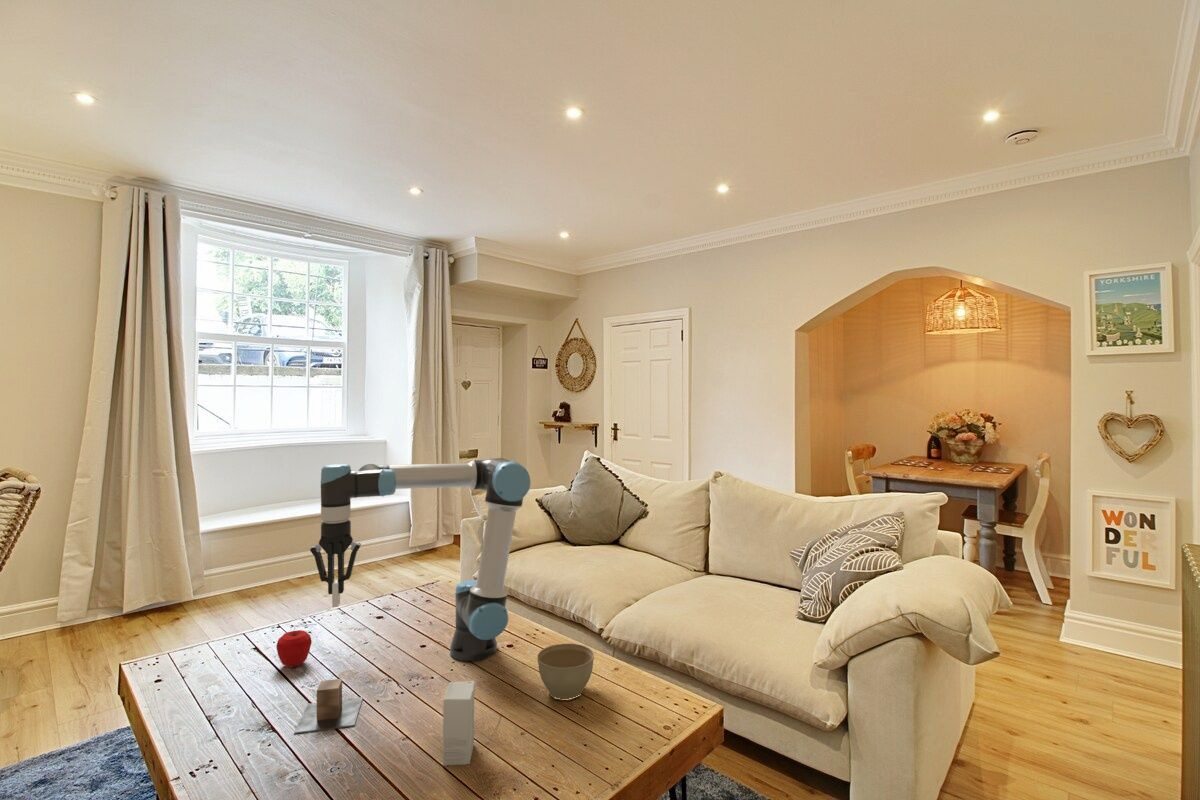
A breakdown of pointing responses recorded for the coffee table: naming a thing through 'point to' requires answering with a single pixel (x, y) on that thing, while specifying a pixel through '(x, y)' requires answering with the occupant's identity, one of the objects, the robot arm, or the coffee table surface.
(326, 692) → the tan wooden block
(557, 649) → the planter bowl
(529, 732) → the coffee table surface
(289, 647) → the apple
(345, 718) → the grey square base plate
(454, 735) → the skincare box
